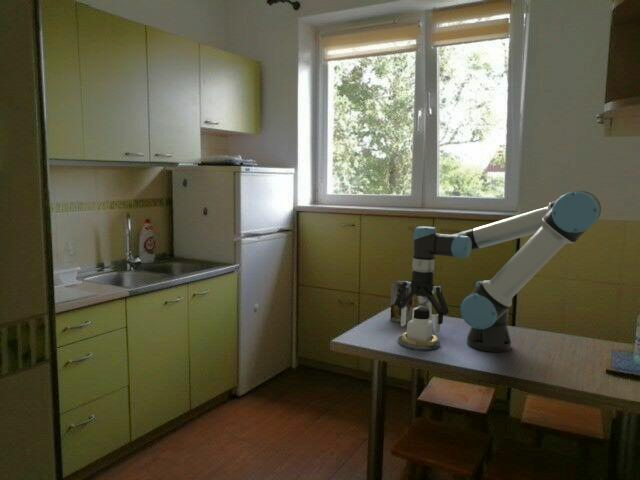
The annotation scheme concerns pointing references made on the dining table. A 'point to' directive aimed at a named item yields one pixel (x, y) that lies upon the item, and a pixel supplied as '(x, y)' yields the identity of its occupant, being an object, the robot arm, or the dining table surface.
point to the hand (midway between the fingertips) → (419, 328)
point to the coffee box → (395, 292)
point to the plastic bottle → (425, 304)
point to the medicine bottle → (420, 325)
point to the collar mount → (419, 343)
